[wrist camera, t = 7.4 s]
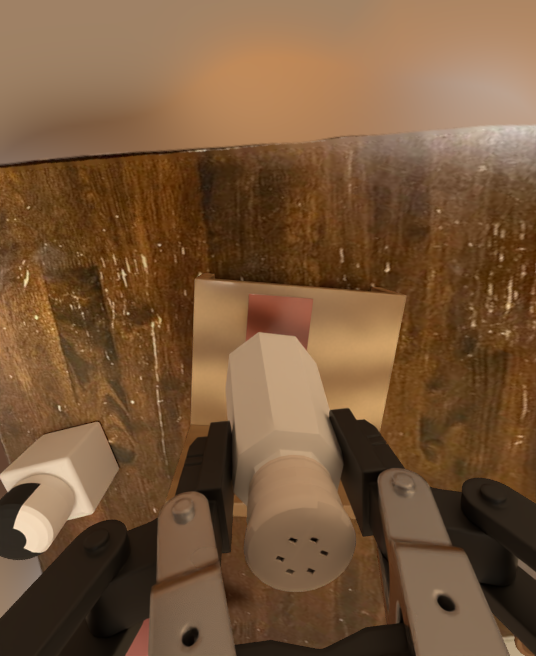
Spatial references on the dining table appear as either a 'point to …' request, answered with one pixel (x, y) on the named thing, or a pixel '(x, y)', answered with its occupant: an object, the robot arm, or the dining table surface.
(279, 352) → the pepper shaker
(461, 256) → the dining table surface
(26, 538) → the medicine bottle
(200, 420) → the shelf
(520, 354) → the dining table surface
